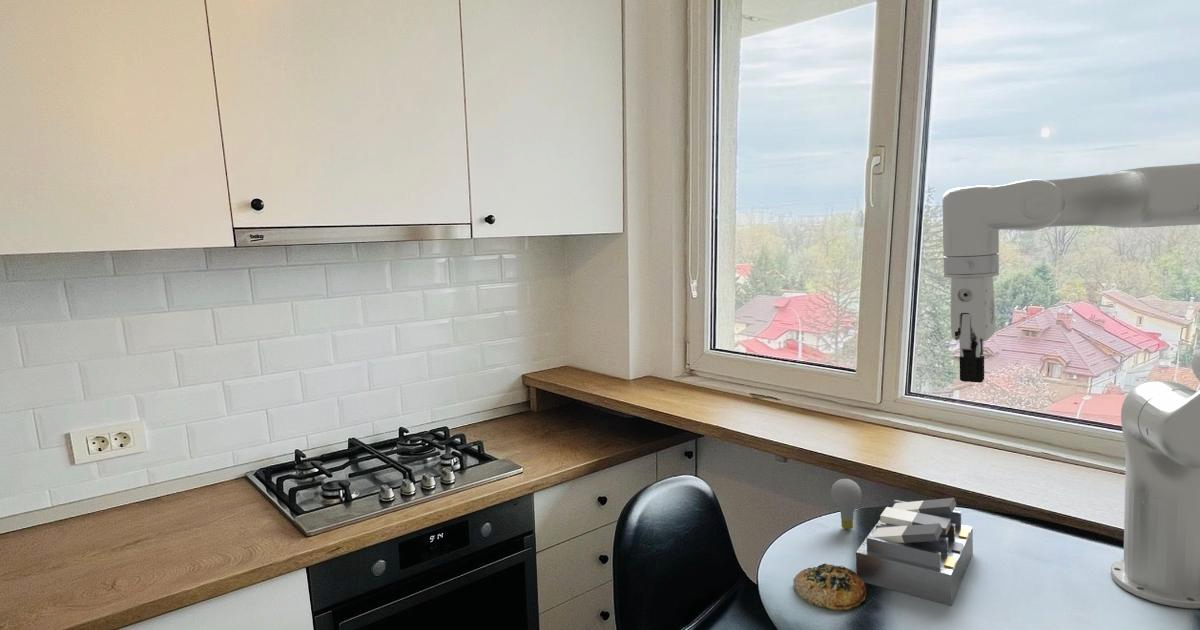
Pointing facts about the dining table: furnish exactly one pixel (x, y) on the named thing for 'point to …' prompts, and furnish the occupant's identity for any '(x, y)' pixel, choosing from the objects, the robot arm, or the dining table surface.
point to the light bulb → (846, 500)
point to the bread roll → (830, 587)
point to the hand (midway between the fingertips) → (972, 380)
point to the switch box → (918, 562)
